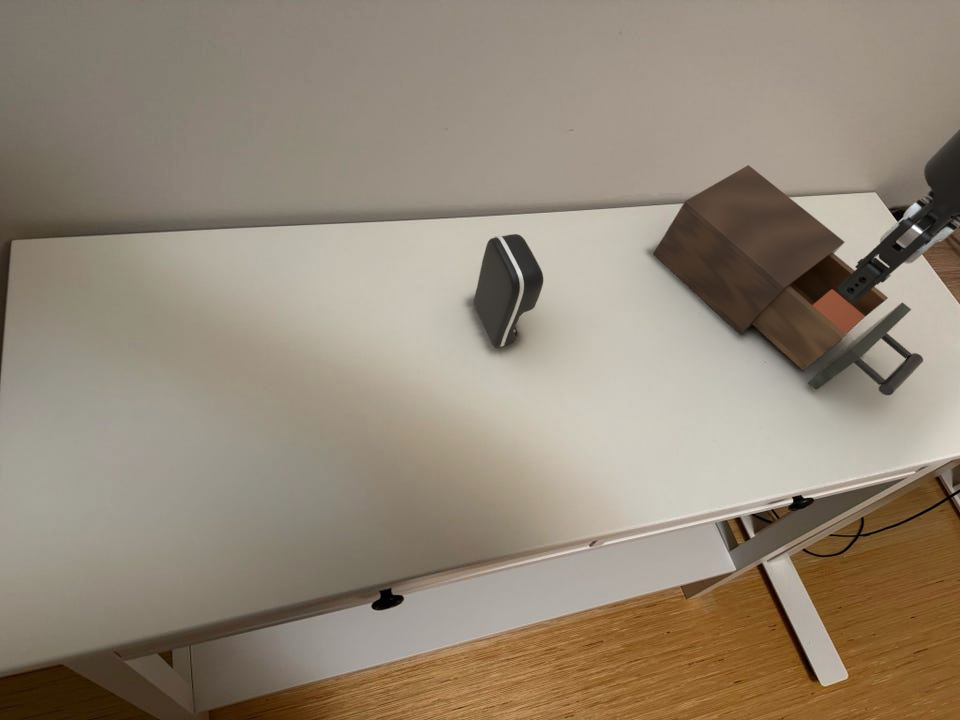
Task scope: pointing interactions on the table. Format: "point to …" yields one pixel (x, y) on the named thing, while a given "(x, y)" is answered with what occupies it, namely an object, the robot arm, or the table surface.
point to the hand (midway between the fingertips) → (867, 278)
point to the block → (838, 311)
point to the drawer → (831, 327)
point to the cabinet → (743, 245)
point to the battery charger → (506, 286)
